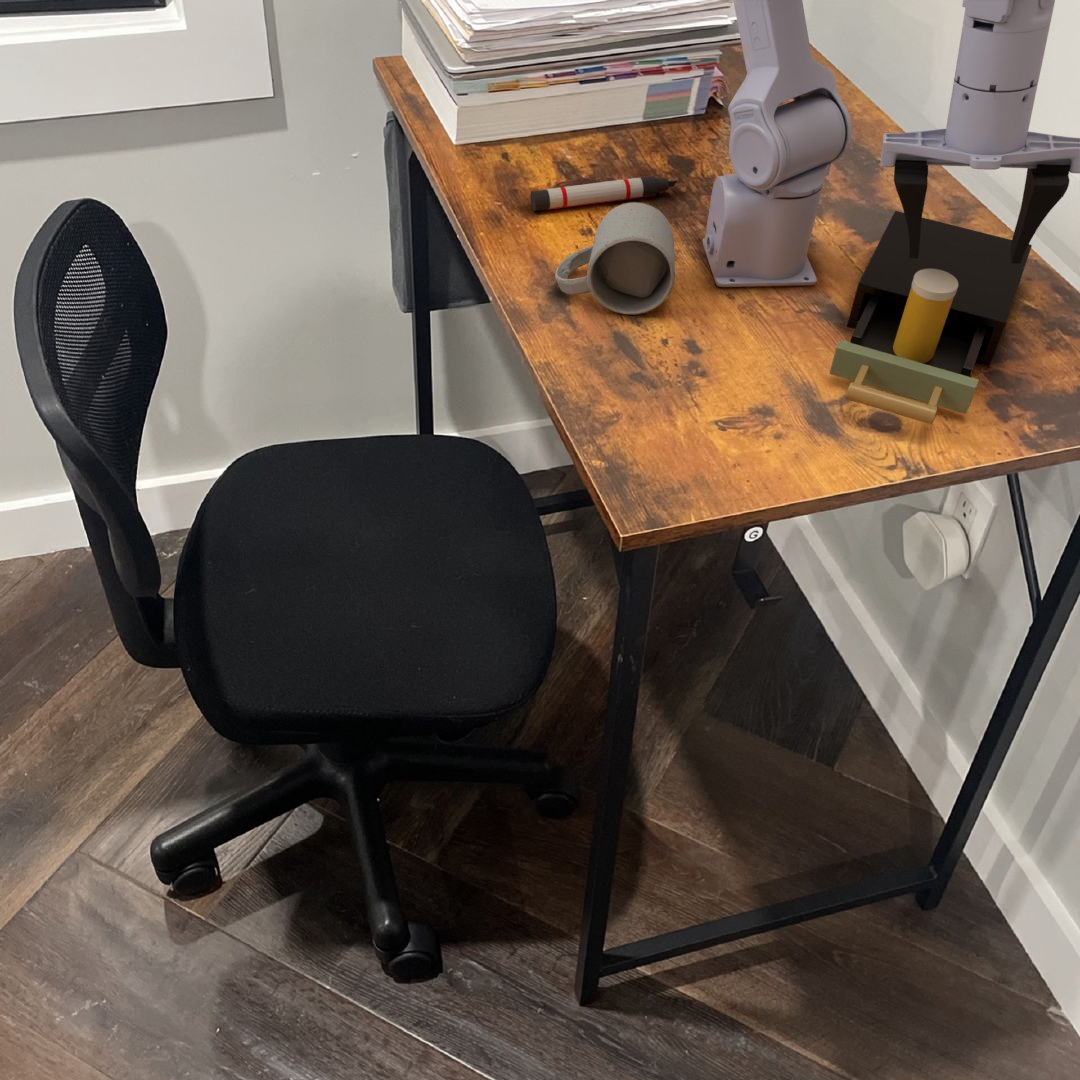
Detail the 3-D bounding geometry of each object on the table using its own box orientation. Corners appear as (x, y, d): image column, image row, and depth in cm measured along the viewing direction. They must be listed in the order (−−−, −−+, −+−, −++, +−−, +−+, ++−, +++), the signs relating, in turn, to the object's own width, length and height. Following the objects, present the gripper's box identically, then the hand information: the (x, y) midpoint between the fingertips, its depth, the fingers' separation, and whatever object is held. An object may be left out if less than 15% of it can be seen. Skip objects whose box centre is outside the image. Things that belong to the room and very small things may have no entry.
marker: (535, 215, 113) (535, 197, 112) (529, 205, 114) (530, 187, 113) (678, 196, 116) (681, 178, 115) (671, 187, 118) (673, 169, 116)
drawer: (955, 445, 89) (966, 418, 87) (814, 402, 93) (822, 375, 91) (993, 333, 100) (1003, 306, 98) (866, 298, 103) (873, 271, 101)
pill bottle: (898, 364, 95) (921, 293, 90) (886, 339, 97) (908, 268, 92) (939, 363, 95) (964, 292, 90) (926, 338, 97) (950, 267, 92)
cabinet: (989, 367, 98) (1006, 322, 95) (846, 326, 102) (858, 282, 98) (1015, 287, 107) (1032, 244, 103) (883, 252, 110) (895, 210, 107)
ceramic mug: (670, 267, 107) (678, 193, 102) (670, 318, 102) (678, 242, 96) (558, 262, 108) (560, 187, 102) (552, 311, 102) (553, 236, 97)
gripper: (889, 96, 80) (867, 273, 89) (1112, 100, 77) (1066, 283, 86) (891, 64, 86) (870, 234, 94) (1100, 66, 82) (1058, 243, 91)
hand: (963, 255), depth 90 cm, fingers open, 7 cm apart
